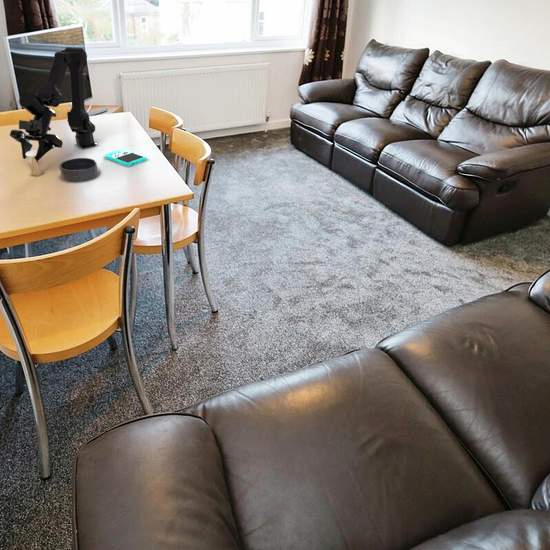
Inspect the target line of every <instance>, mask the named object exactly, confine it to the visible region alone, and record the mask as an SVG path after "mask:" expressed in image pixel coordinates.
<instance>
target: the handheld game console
mask: <svg viewBox="0 0 550 550" xmlns="http://www.w3.org/2000/svg"><path fill="white" fill-rule="evenodd" d="M104 156H105V159H106V160H109V161H112V162H115V163H117V164H120V165H122V166H125V167H131V166H134V165H137V164H140V163H142V162H145V161H147V156H143V155H141V154H137V153H135V152H132V151H130V150H126V149H123V148H119V149H116V150H113V151H110V152H108V153H106V154H105V155H104Z"/></svg>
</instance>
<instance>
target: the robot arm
mask: <svg viewBox="0 0 550 550" xmlns="http://www.w3.org/2000/svg"><path fill="white" fill-rule="evenodd" d="M53 55H54V59H53V62H52V65H51V68H50V70H49V73H48V77H47V79H46V82H45V83H44V84H42V85H40V88H39V89H38V91H37V93H35V92H34V91H33V90H27V91H26V93H24V94H22V95H21V96H20V97H19V100H18V103H19V105H20V106H21V108H23V109H24V110H26V111H27V112H28V113H29V114H30V115H32V116H33V119H30V120H22V119H19V120H18V129H11V130H10V131H9V132H10V133H9V136H10V137H11V139H14V141H16V142H18V143H20V146H21V147H20V148H21V155H22V159H23V160H27V158H26V155H25V154H26V150H27V152H28V151H31V150H32V148H33V146H34V144H32V143H31V141H34V142H37V143H38V148H37V150H36V151H37V154H36V160H37V161H38V160H39V159H40V160H41V159H42V158H43V157H44V156H45V155H46V154H47V153H48V152H49V151H51V150H53V149H55V148H59V149H62V147H63V140H62V139H61V138H60V137H58V135H56V134H53V133H49V131H51V129H52V127H50V124H51V121H52V118H57V114H56V112H55V109H52V108H57V107H59V106H60V104H61V98H62V93H61V86H62V84H63V81H64V78H65V75H66V72H67V68H68V70H69V79H70V80H69V81H70V97H71V98H70V99H71V109H70V110H69V111H67V112H66V114H67V115H66V116H67V123H68V124H67V125H68V127H69V129H70V131H71V132H72V133H75V136H74V137H75V145H76V146H77V147H80V148H81V149H87V148H91V147H96V146H97V143H95V138H94V133H95V132H96V125H95V124H94V123H92V121H91V119H90V114H89V112H88V111H87V110H86V107H85V105H86V104H85V90H84V89H85V88H84V71H85V69H86V67H87V63H88V62H87V60H88V54H87V52H86V51H85V48H82V47H76V46H75V47H74V46H66V47H65V48H64V49H61V50H58V51H55V53H54V54H53ZM50 107H51V108H50ZM22 130H24V131H22ZM26 133H27V134H26ZM24 147H25V148H26V150H25V149H24Z"/></svg>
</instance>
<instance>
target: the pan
mask: <svg viewBox="0 0 550 550" xmlns="http://www.w3.org/2000/svg"><path fill="white" fill-rule="evenodd" d="M58 167H59V171H60V176H61V179H62V180H63V181H66V182H69V183H84V182H89V181H92V180H94V179H96V178H97V177H98V176H99V168H98V163H97V161H96V160H95V159H92V158H87V157H76V158H70V159H67V160H64V161H62V162H60V163H59V166H58Z"/></svg>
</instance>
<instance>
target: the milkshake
mask: <svg viewBox="0 0 550 550" xmlns="http://www.w3.org/2000/svg"><path fill="white" fill-rule="evenodd" d="M24 149H25V150H26V148H25V147H24ZM37 151H38V150H35V149H33V150H32V149H31V150H30V151H28V152H27V150H26V154H25V155H26V160H27V162H28V165H29V168H30V170H31V173H32V176H41V175H42V174H43V173H42V166H41V161H40V160H41V158H40V159H39V160H38V161H37V160H36V154H37Z"/></svg>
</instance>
